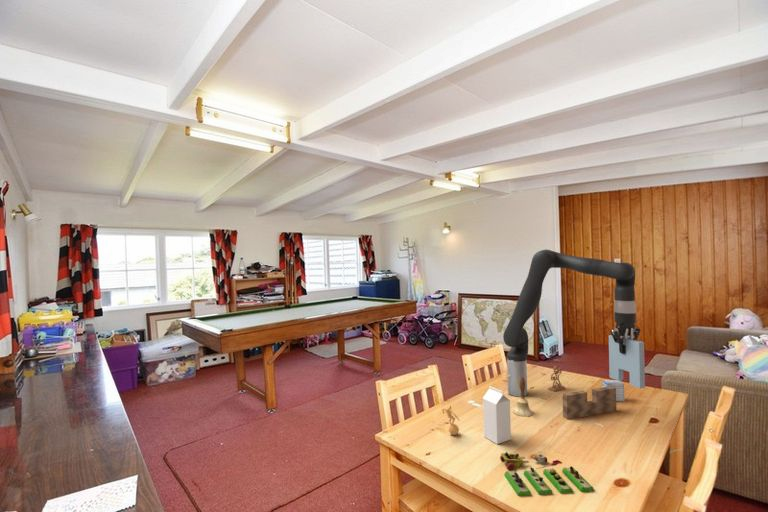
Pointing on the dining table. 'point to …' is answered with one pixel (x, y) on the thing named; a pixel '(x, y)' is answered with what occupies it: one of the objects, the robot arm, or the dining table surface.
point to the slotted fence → (589, 402)
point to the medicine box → (618, 386)
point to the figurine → (453, 427)
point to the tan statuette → (558, 386)
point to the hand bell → (522, 402)
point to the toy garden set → (537, 481)
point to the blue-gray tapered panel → (627, 362)
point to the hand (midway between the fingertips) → (625, 352)
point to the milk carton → (496, 416)
